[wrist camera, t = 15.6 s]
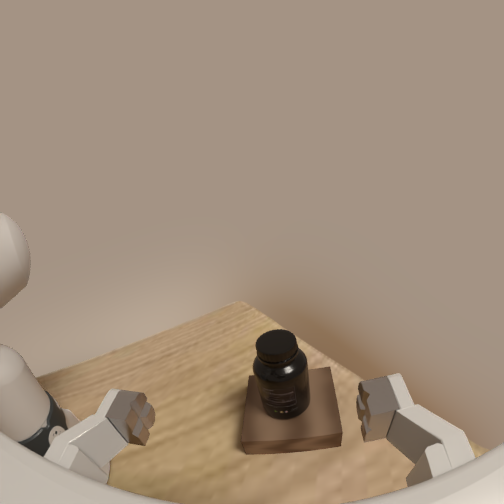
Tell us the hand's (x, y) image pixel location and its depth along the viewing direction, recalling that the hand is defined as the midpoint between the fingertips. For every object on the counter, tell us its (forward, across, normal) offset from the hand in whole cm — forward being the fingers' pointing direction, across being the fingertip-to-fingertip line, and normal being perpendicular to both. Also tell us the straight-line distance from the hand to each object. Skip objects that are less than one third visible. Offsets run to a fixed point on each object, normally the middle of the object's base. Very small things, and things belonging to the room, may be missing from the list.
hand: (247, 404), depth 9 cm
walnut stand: (+19, 0, +28) cm, 34 cm away
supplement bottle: (+19, 0, +25) cm, 31 cm away
